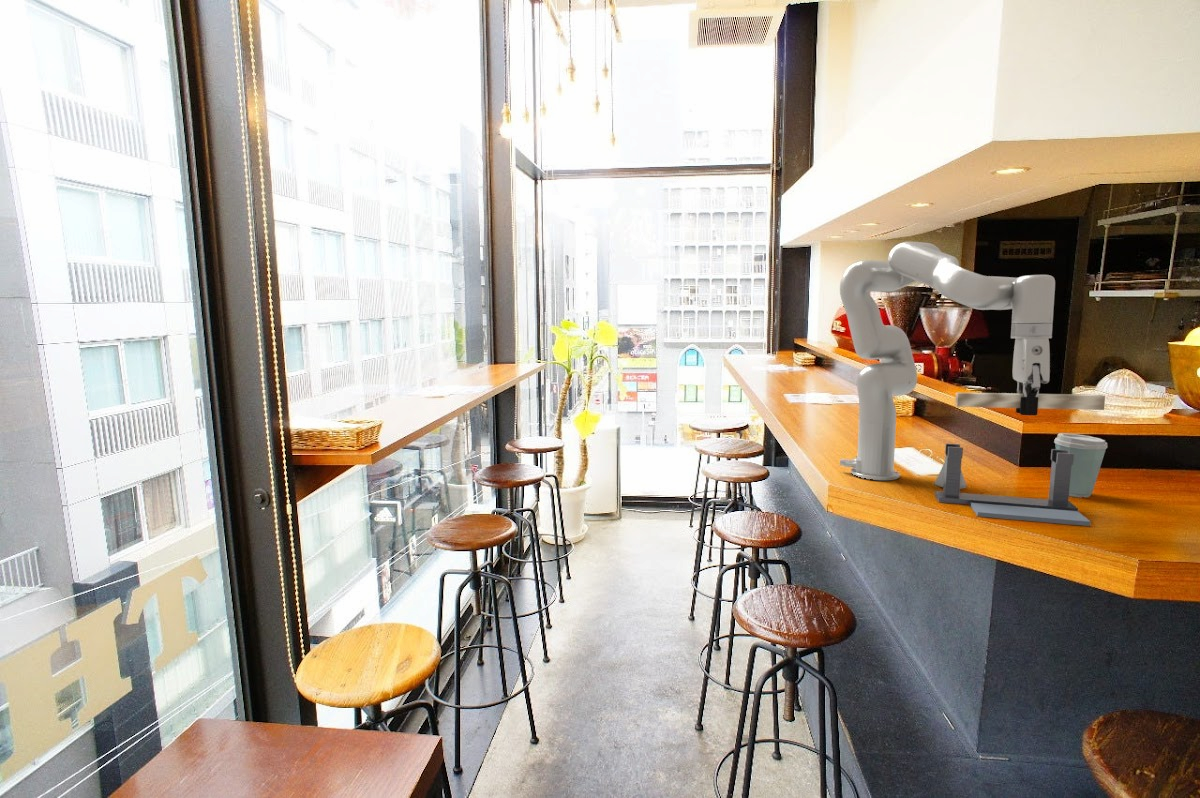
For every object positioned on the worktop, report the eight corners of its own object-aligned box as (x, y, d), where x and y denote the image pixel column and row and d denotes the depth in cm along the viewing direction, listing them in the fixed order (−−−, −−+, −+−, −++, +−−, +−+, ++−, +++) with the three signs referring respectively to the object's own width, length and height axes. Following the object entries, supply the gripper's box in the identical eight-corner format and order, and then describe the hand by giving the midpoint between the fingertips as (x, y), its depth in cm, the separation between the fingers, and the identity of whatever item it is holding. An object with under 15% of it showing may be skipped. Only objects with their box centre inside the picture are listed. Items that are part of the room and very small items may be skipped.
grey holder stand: (938, 502, 153) (942, 447, 151) (935, 495, 159) (938, 442, 157) (1077, 513, 144) (1082, 455, 142) (1068, 506, 149) (1073, 449, 147)
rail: (957, 406, 146) (957, 393, 146) (955, 405, 148) (955, 392, 148) (1104, 409, 137) (1105, 396, 136) (1099, 408, 139) (1100, 394, 139)
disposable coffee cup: (1081, 488, 164) (1086, 431, 162) (1114, 500, 153) (1120, 439, 151) (1039, 488, 164) (1044, 431, 162) (1070, 500, 153) (1076, 439, 151)
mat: (977, 516, 142) (977, 512, 142) (970, 506, 149) (971, 502, 149) (1090, 526, 135) (1090, 521, 135) (1077, 515, 142) (1078, 511, 142)
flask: (928, 484, 169) (930, 447, 168) (948, 481, 172) (950, 445, 171) (952, 491, 163) (954, 453, 161) (972, 488, 165) (975, 450, 164)
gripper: (1064, 332, 132) (1058, 419, 134) (1039, 331, 147) (1034, 409, 149) (1022, 332, 134) (1017, 418, 136) (1002, 331, 149) (997, 409, 151)
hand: (1026, 413), depth 143 cm, fingers closed on rail, 2 cm apart
